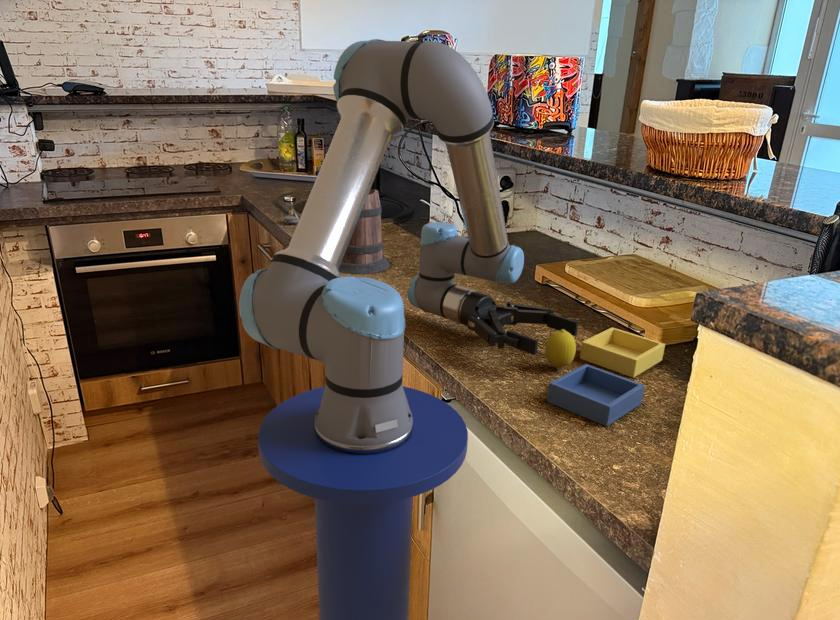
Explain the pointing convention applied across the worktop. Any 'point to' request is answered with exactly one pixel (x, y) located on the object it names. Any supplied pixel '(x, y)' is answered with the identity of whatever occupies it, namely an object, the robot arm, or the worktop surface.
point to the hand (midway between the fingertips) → (557, 338)
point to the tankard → (366, 241)
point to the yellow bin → (622, 351)
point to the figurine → (291, 217)
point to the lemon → (560, 349)
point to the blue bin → (595, 394)
